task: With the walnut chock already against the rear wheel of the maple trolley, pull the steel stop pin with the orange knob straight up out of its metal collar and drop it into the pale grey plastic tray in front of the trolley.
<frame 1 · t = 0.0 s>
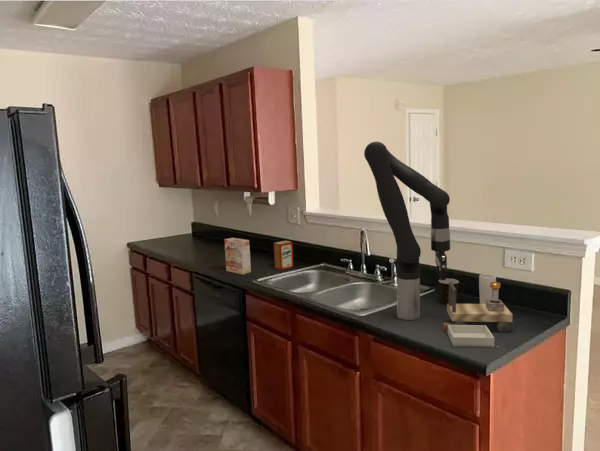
hand: (441, 277, 198), 17 cm above the worktop, tool pointing down, fingers open, 8 cm apart
coffee mug: (451, 303, 218), on the worktop
tray: (469, 340, 176), on the worktop
drinking glass: (486, 310, 208), on the worktop
baking soda box: (284, 267, 293), on the worktop
trolley: (478, 326, 189), on the worktop
coffeecake box: (238, 271, 287), on the worktop
wheel chock: (448, 330, 186), on the worktop
stop pin: (494, 309, 187), point 7 cm above the worktop, touching trolley
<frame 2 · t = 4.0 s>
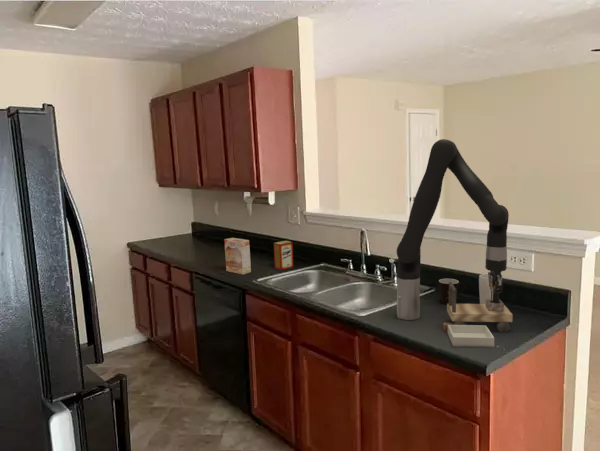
hand: (494, 300, 187), 11 cm above the worktop, tool pointing down, fingers closed on stop pin, 2 cm apart
stop pin: (494, 309, 187), point 7 cm above the worktop, touching gripper, trolley
everything else where it was.
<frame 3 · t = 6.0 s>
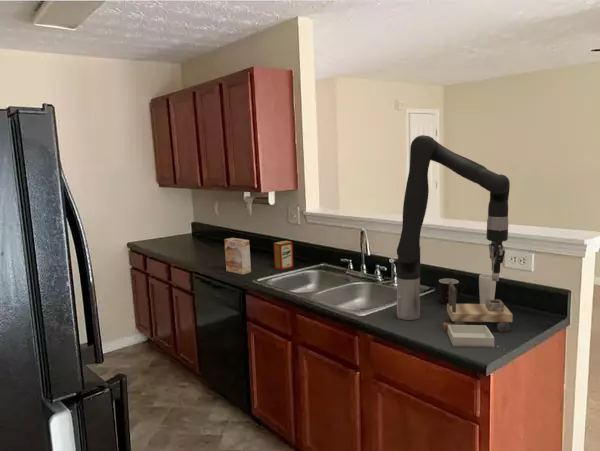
hand: (495, 271, 185), 22 cm above the worktop, tool pointing down, fingers closed on stop pin, 2 cm apart
stop pin: (495, 280, 185), point 19 cm above the worktop, touching gripper
everything else where it was.
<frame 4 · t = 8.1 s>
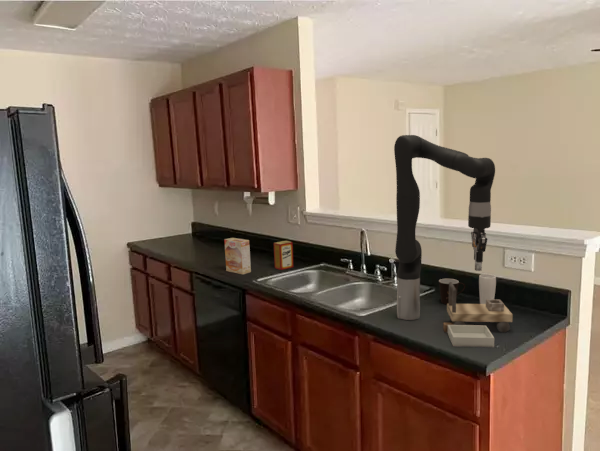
hand: (478, 261, 175), 29 cm above the worktop, tool pointing down, fingers closed on stop pin, 2 cm apart
stop pin: (478, 270, 175), point 26 cm above the worktop, touching gripper
everything else where it was.
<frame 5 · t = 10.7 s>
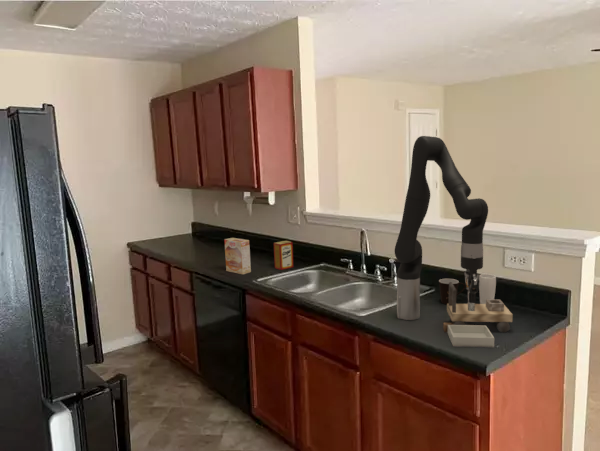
hand: (471, 301, 174), 15 cm above the worktop, tool pointing down, fingers closed on stop pin, 2 cm apart
stop pin: (471, 310, 175), point 12 cm above the worktop, touching gripper
everything else where it was.
when the fingers open (6 cm above the worktop, at t = 12.7 s): stop pin drops 2 cm, resting on tray.
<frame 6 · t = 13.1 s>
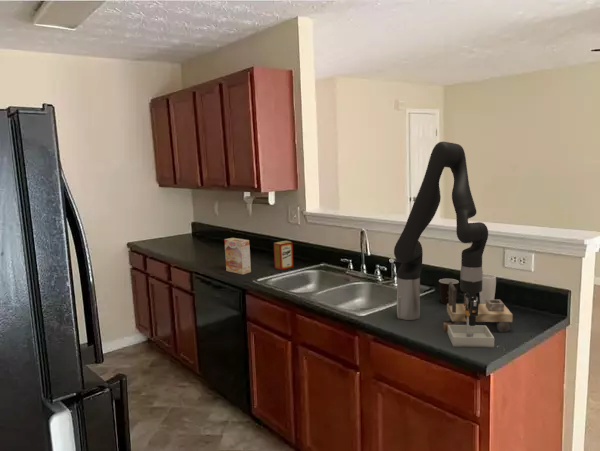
hand: (470, 322, 175), 7 cm above the worktop, tool pointing down, fingers open, 5 cm apart
stop pin: (469, 337, 177), point 1 cm above the worktop, touching tray
everything else where it was.
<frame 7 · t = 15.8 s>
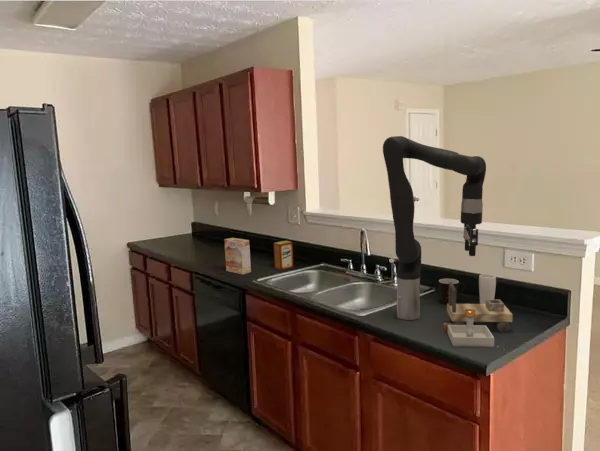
hand: (469, 253, 181), 31 cm above the worktop, tool pointing down, fingers open, 8 cm apart
nothing on the worktop moved.
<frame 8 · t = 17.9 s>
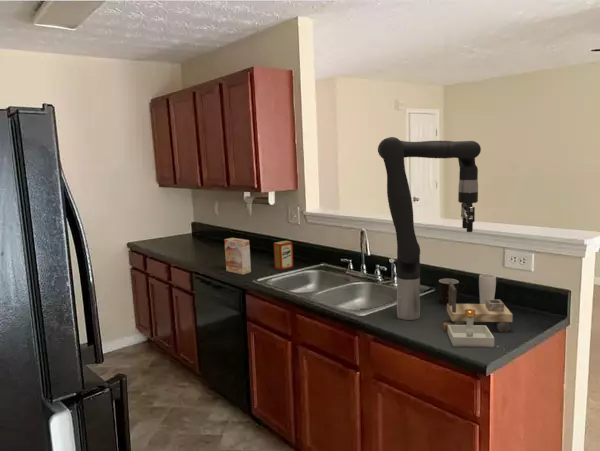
hand: (467, 230, 197), 36 cm above the worktop, tool pointing down, fingers open, 8 cm apart
nothing on the worktop moved.
at the end: stop pin inside the target area on the tray (0.8 cm from its centre), point 0.6 cm above the tray's base; the gripper is holding nothing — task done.
